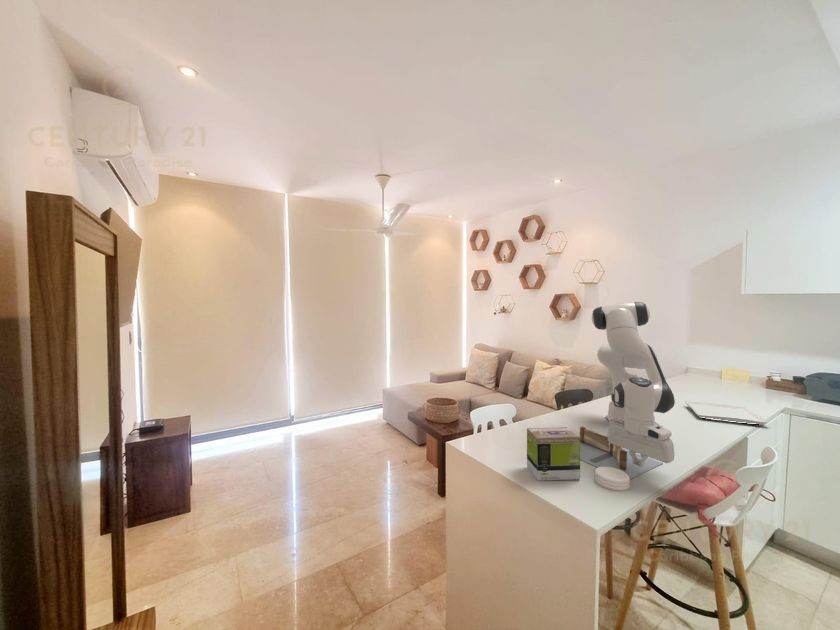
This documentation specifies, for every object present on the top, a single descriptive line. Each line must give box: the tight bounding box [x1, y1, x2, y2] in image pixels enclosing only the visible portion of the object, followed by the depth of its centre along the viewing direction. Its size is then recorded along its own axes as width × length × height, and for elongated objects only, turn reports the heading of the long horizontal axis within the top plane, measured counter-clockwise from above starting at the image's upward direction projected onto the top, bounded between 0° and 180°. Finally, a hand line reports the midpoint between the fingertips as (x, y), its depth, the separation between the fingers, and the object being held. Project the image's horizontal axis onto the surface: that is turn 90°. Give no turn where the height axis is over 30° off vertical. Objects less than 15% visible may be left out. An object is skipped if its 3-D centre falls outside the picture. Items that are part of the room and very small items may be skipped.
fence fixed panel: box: [579, 426, 613, 454], centre depth 139 cm, size 2×15×6 cm, turn 31°
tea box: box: [526, 426, 581, 481], centre depth 117 cm, size 15×10×15 cm
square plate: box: [684, 401, 768, 426], centre depth 181 cm, size 27×27×4 cm
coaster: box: [594, 467, 631, 492], centre depth 112 cm, size 10×10×4 cm
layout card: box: [580, 442, 664, 480], centre depth 131 cm, size 24×28×1 cm
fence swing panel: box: [613, 445, 627, 470], centre depth 126 cm, size 13×2×6 cm, turn 164°
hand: (638, 465), depth 117 cm, fingers closed
